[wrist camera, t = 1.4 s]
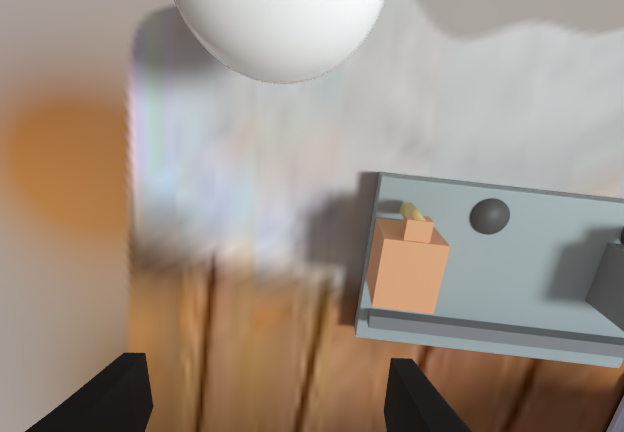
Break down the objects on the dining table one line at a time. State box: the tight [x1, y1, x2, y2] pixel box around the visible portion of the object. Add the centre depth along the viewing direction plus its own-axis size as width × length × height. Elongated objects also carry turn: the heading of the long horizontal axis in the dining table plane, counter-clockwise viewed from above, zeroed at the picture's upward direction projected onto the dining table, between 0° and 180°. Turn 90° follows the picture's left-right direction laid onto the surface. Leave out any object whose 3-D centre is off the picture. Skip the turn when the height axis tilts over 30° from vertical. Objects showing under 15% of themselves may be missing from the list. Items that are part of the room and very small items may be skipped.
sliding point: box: [366, 202, 450, 314], centre depth 18 cm, size 3×5×3 cm, turn 174°
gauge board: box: [354, 172, 624, 368], centre depth 19 cm, size 16×10×4 cm, turn 84°
